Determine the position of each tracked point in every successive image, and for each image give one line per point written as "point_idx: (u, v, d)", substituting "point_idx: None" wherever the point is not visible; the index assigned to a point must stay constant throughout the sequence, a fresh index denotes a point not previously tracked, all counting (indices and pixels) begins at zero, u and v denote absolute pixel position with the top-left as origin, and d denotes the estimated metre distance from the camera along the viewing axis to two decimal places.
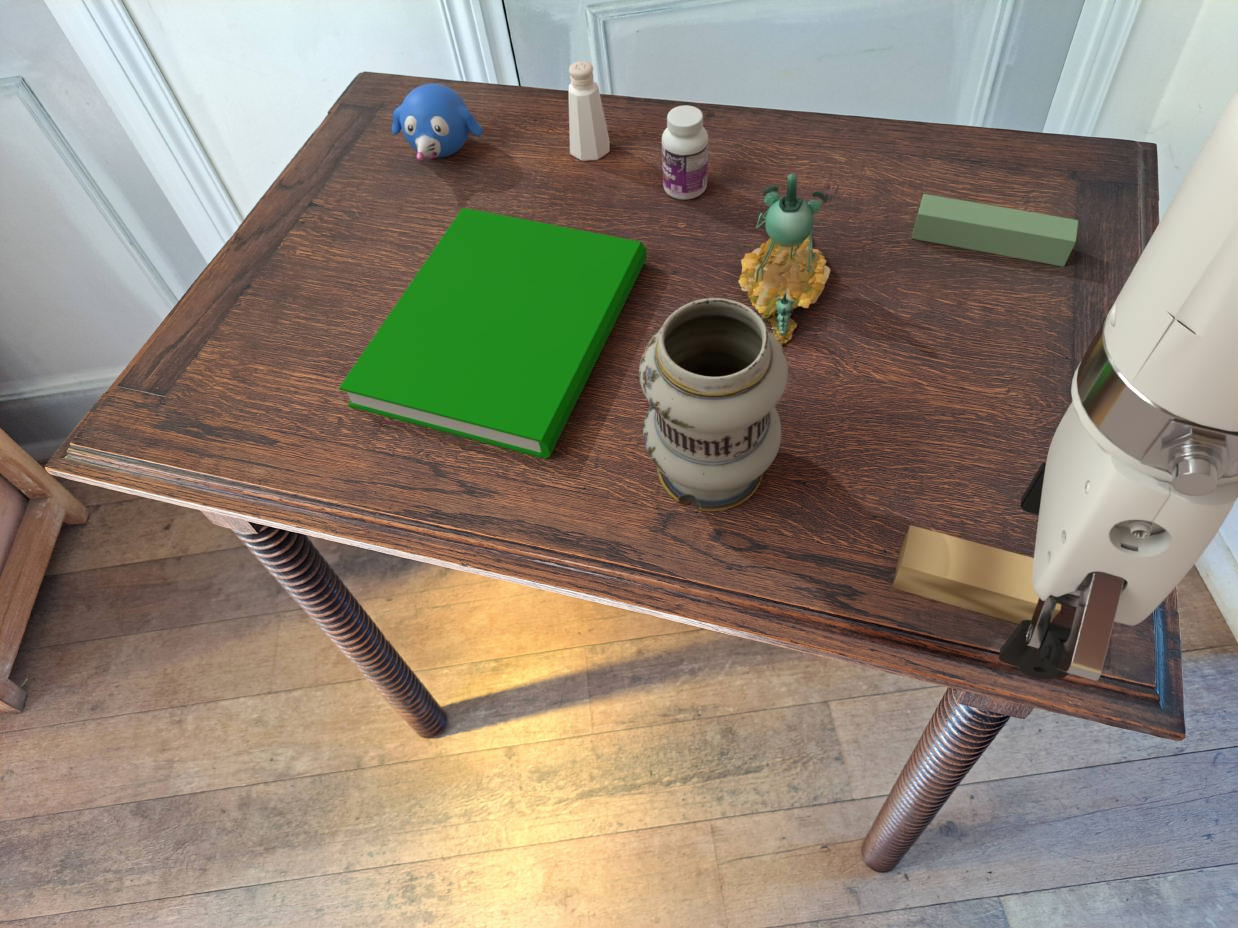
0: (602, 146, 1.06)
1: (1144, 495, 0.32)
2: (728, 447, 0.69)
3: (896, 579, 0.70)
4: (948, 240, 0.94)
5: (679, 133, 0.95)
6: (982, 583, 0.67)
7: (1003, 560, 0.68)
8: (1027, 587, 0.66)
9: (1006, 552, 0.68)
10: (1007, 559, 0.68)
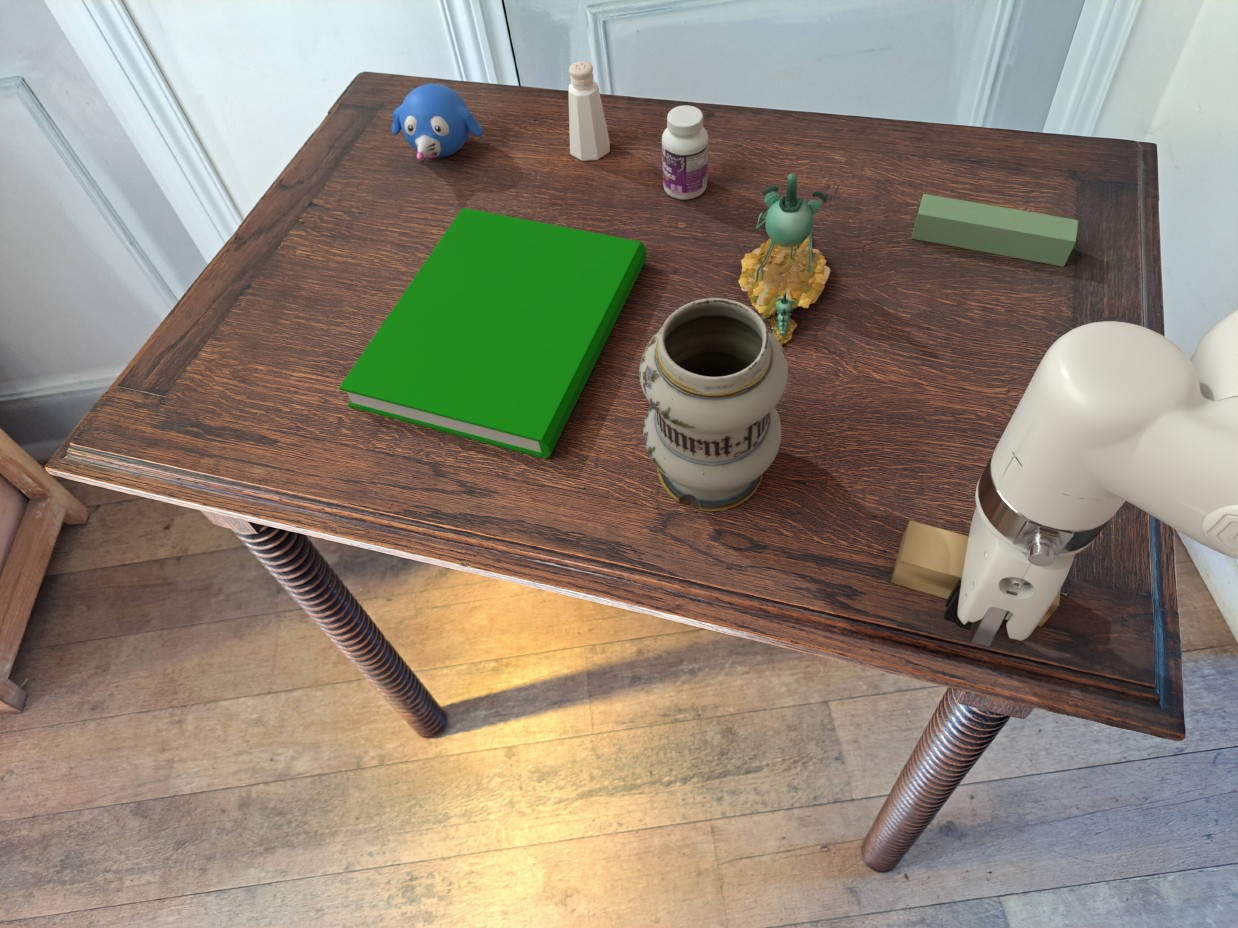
0: (602, 146, 1.06)
1: (1016, 563, 0.52)
2: (728, 447, 0.69)
3: (895, 574, 0.70)
4: (948, 240, 0.94)
5: (679, 133, 0.95)
6: None
7: None
8: None
9: None
10: None
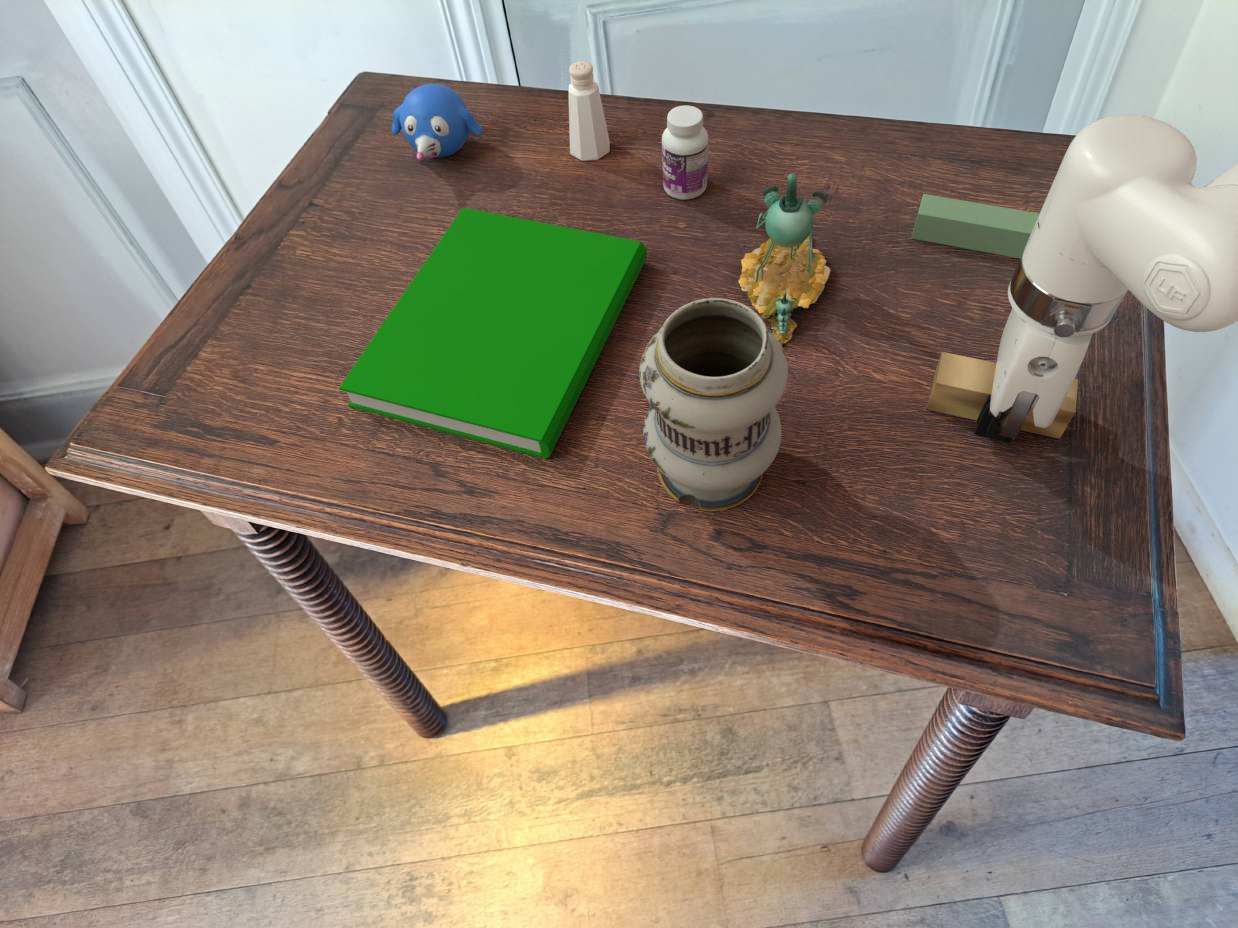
0: (602, 146, 1.06)
1: (1043, 342, 0.62)
2: (728, 447, 0.69)
3: (931, 399, 0.80)
4: (948, 240, 0.94)
5: (679, 133, 0.95)
6: None
7: None
8: None
9: None
10: None
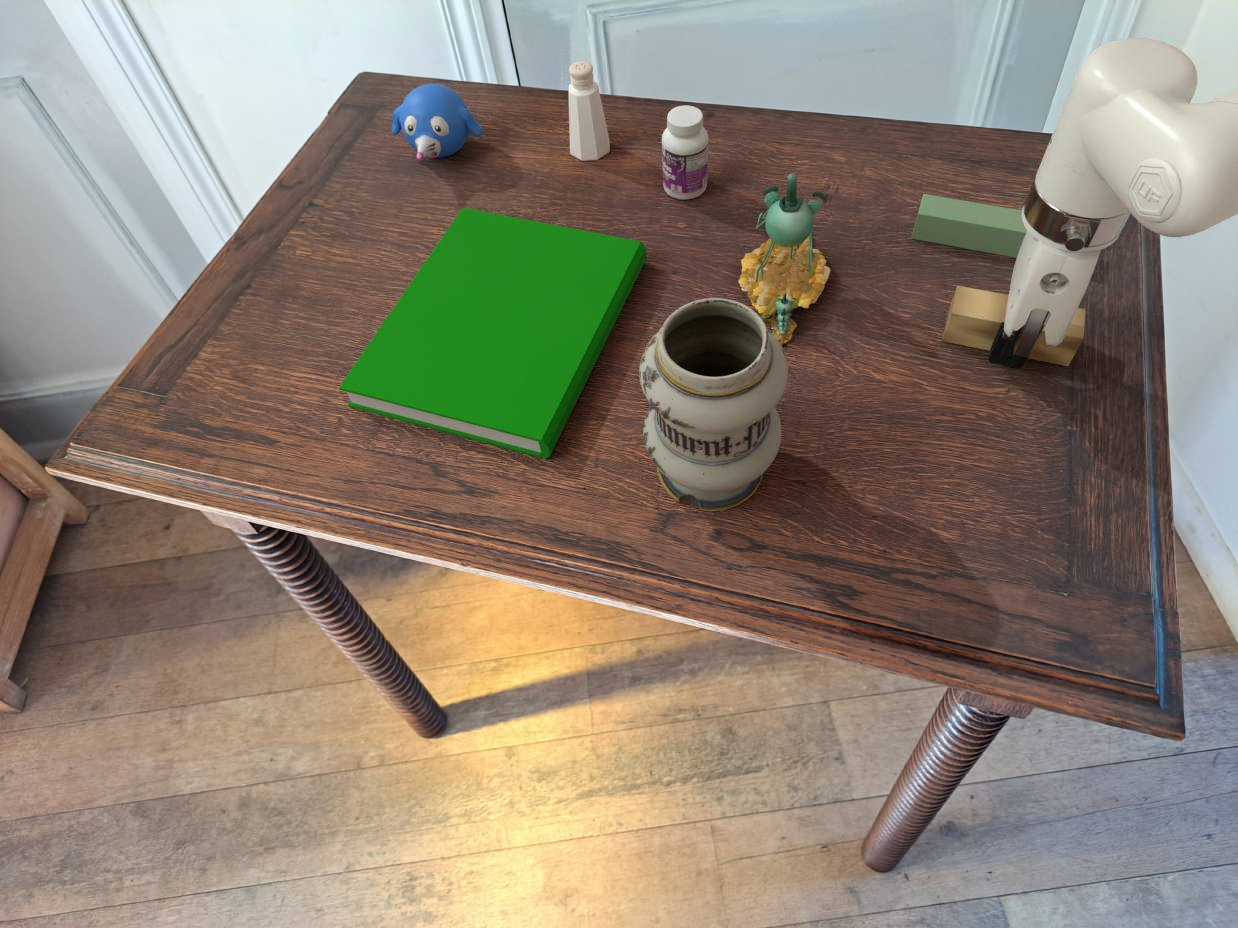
0: (602, 146, 1.06)
1: (1055, 258, 0.67)
2: (728, 447, 0.69)
3: (946, 330, 0.85)
4: (948, 240, 0.94)
5: (679, 133, 0.95)
6: None
7: None
8: None
9: None
10: None
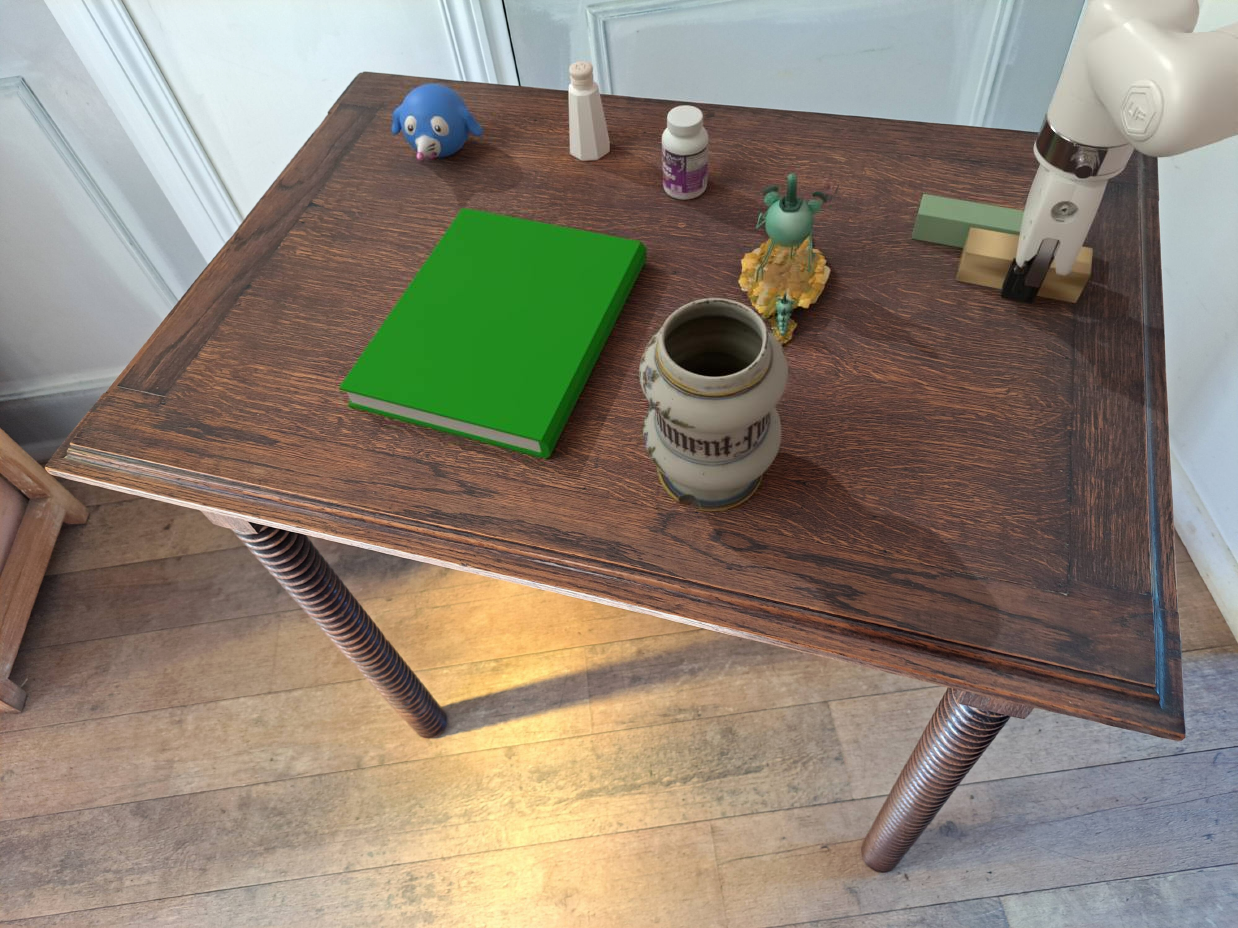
0: (602, 146, 1.06)
1: (1065, 187, 0.72)
2: (728, 447, 0.69)
3: (960, 269, 0.90)
4: (948, 240, 0.94)
5: (679, 133, 0.95)
6: None
7: None
8: None
9: None
10: None
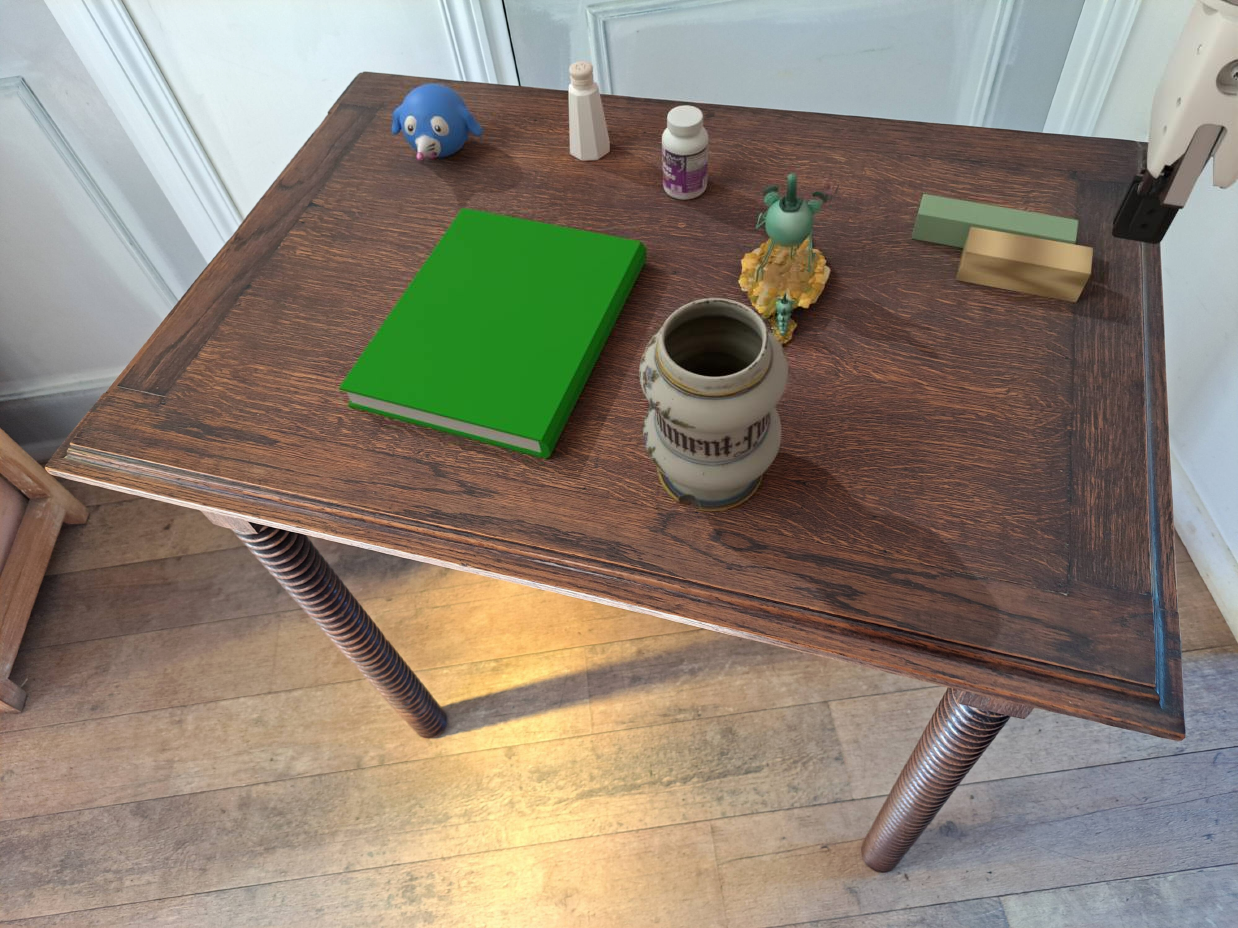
0: (602, 146, 1.06)
1: None
2: (728, 447, 0.69)
3: (960, 269, 0.90)
4: (948, 240, 0.94)
5: (679, 133, 0.95)
6: (1029, 260, 0.86)
7: (1045, 245, 0.87)
8: (1064, 261, 0.86)
9: (1047, 241, 0.88)
10: (1048, 245, 0.87)
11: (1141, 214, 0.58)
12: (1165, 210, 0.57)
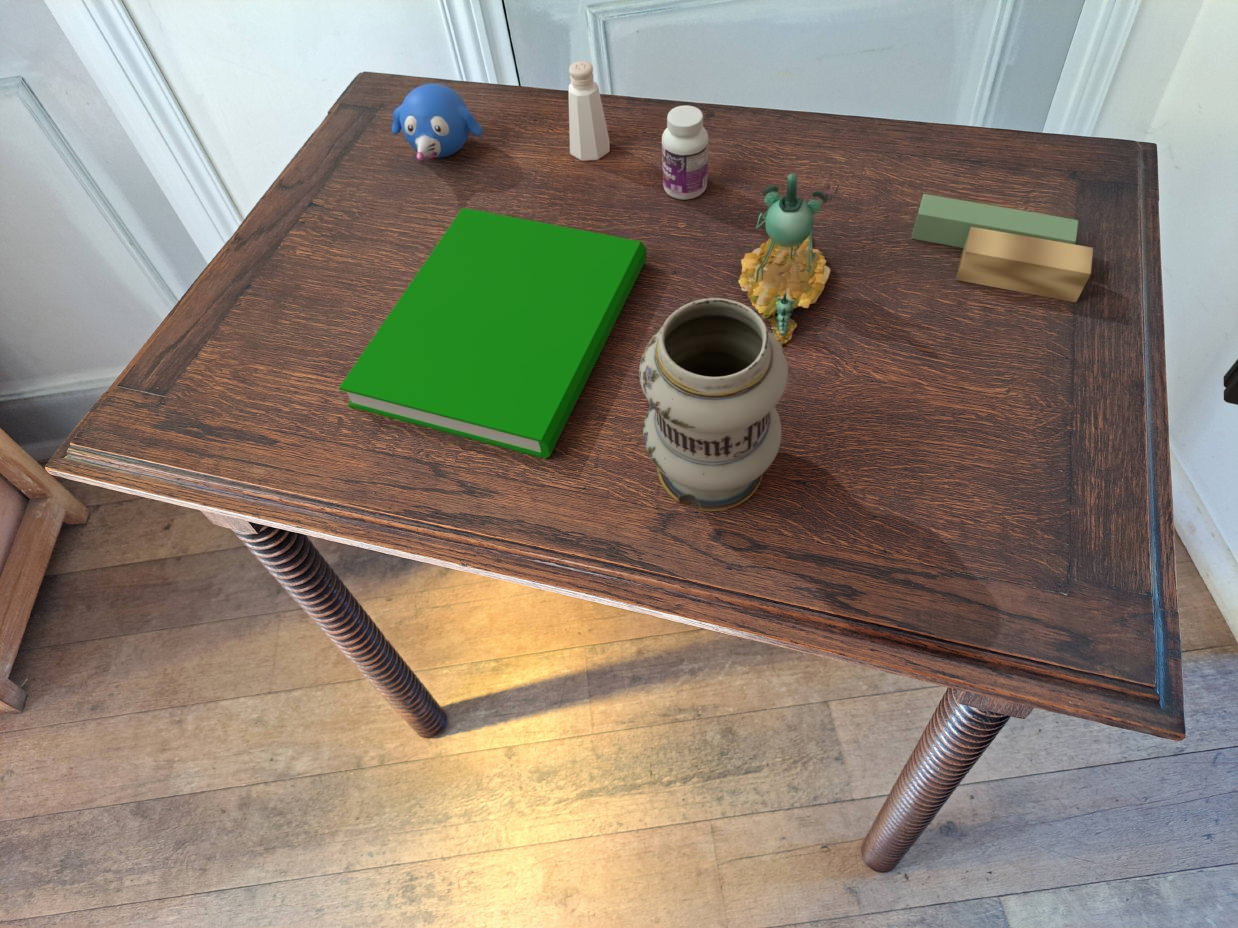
0: (602, 146, 1.06)
1: None
2: (728, 447, 0.69)
3: (960, 269, 0.90)
4: (948, 240, 0.94)
5: (679, 133, 0.95)
6: (1029, 260, 0.86)
7: (1045, 245, 0.87)
8: (1064, 261, 0.86)
9: (1047, 241, 0.88)
10: (1048, 245, 0.87)
11: None
12: None
